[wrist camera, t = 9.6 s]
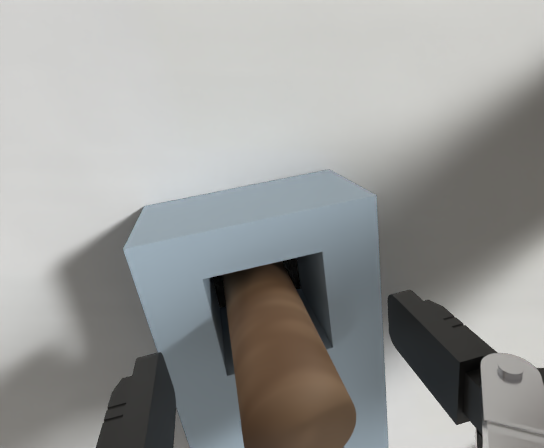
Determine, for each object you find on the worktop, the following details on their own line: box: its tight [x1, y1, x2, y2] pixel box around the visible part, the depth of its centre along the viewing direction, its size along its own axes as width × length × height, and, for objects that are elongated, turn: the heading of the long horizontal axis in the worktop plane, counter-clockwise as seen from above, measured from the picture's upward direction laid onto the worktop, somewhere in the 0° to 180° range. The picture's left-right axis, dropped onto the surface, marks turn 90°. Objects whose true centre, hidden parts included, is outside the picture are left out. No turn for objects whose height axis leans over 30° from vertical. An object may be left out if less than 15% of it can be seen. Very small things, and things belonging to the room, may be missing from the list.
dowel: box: [222, 261, 356, 448], centre depth 14 cm, size 3×3×10 cm
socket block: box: [123, 169, 388, 448], centre depth 17 cm, size 9×15×5 cm, turn 9°
